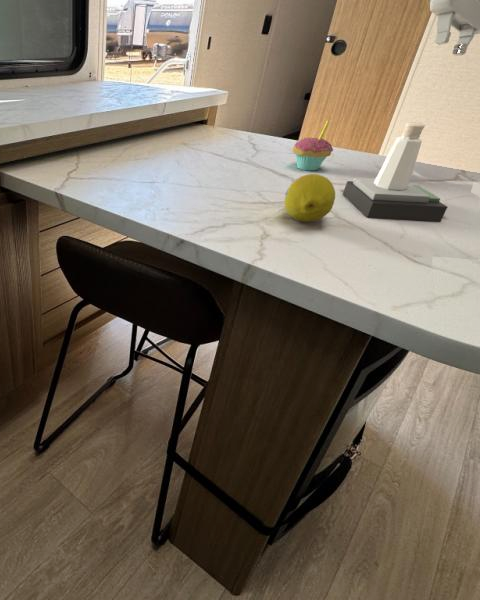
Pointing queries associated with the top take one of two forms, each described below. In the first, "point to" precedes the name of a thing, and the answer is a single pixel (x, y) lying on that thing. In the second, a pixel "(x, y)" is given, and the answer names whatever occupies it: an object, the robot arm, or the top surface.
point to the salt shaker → (401, 159)
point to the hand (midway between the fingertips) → (449, 49)
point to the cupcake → (312, 151)
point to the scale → (394, 201)
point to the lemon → (309, 198)
